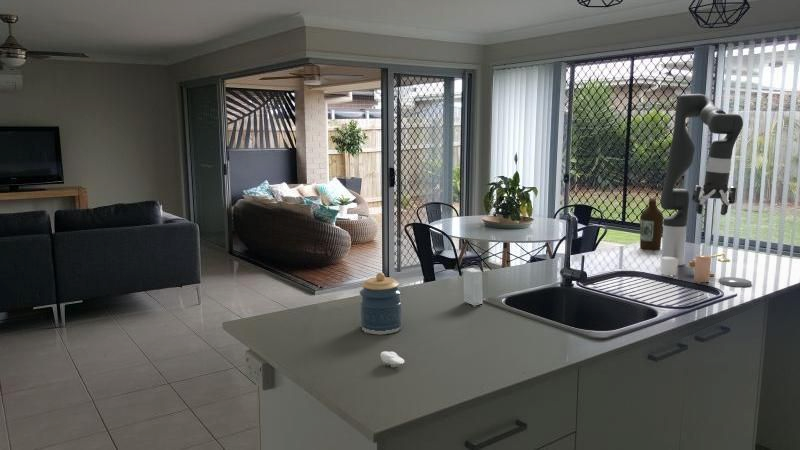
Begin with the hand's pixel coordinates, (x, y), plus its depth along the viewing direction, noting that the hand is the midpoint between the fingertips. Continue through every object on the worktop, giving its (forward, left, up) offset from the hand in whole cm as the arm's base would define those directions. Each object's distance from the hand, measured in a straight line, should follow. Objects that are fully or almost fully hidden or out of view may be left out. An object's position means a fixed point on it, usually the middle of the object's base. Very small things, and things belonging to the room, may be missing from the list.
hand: (710, 214), depth 216 cm
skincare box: (+33, -83, -28) cm, 94 cm away
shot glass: (-22, -8, -28) cm, 37 cm away
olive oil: (-78, -5, -28) cm, 83 cm away
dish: (-11, +13, -28) cm, 33 cm away
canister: (+64, -108, -28) cm, 129 cm away
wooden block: (-12, +2, -28) cm, 30 cm away
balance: (-23, +7, -28) cm, 37 cm away
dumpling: (+92, -98, -28) cm, 138 cm away
